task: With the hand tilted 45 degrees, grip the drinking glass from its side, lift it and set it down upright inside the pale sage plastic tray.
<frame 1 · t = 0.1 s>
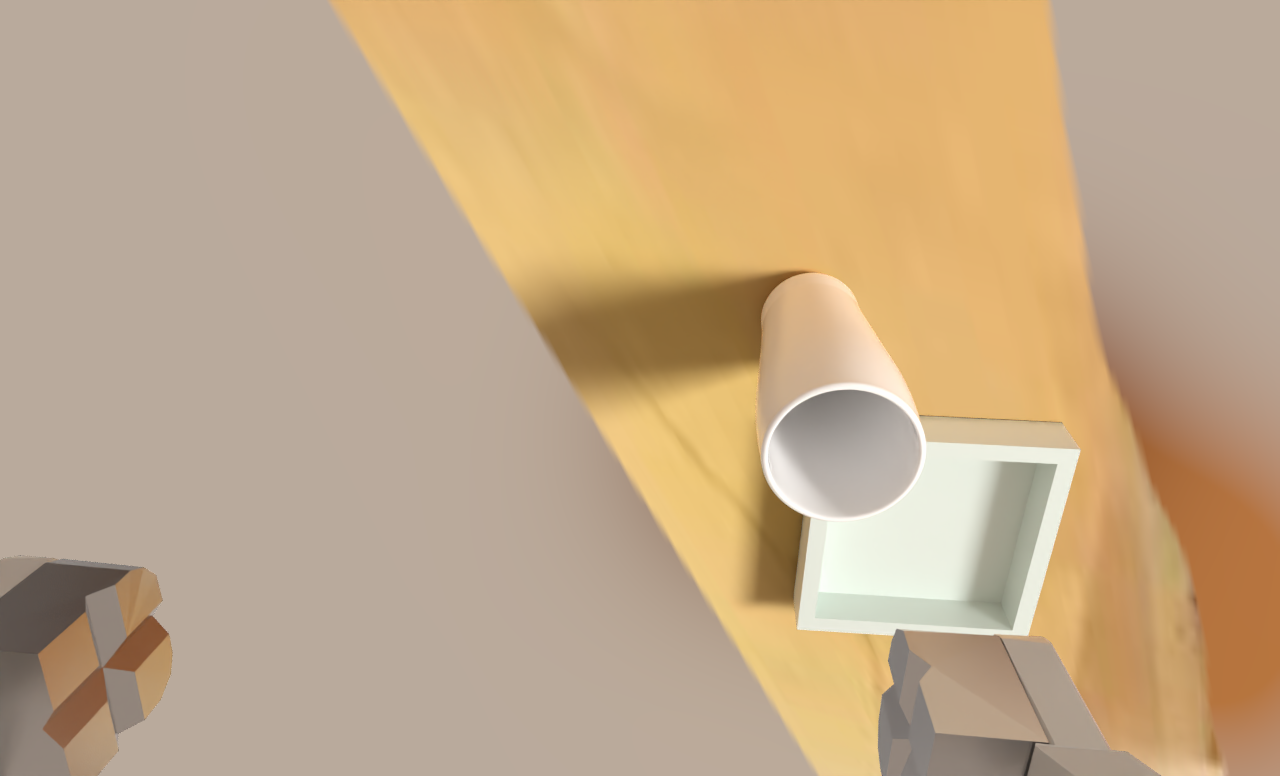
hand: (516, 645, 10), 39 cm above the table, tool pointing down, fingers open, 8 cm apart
drinking glass: (808, 313, 49), on the table
tray: (918, 515, 55), on the table
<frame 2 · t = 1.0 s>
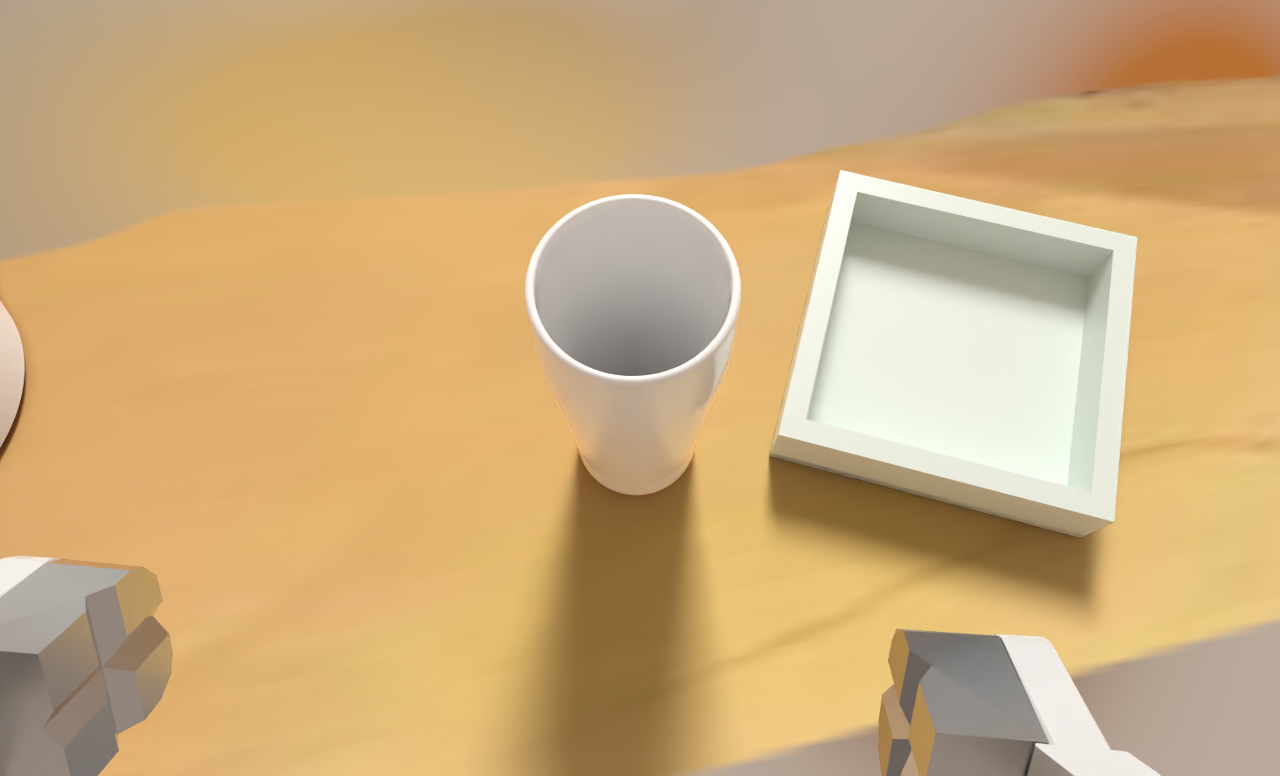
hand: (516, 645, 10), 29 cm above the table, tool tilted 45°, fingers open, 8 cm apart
drinking glass: (636, 444, 41), on the table
tray: (944, 358, 42), on the table
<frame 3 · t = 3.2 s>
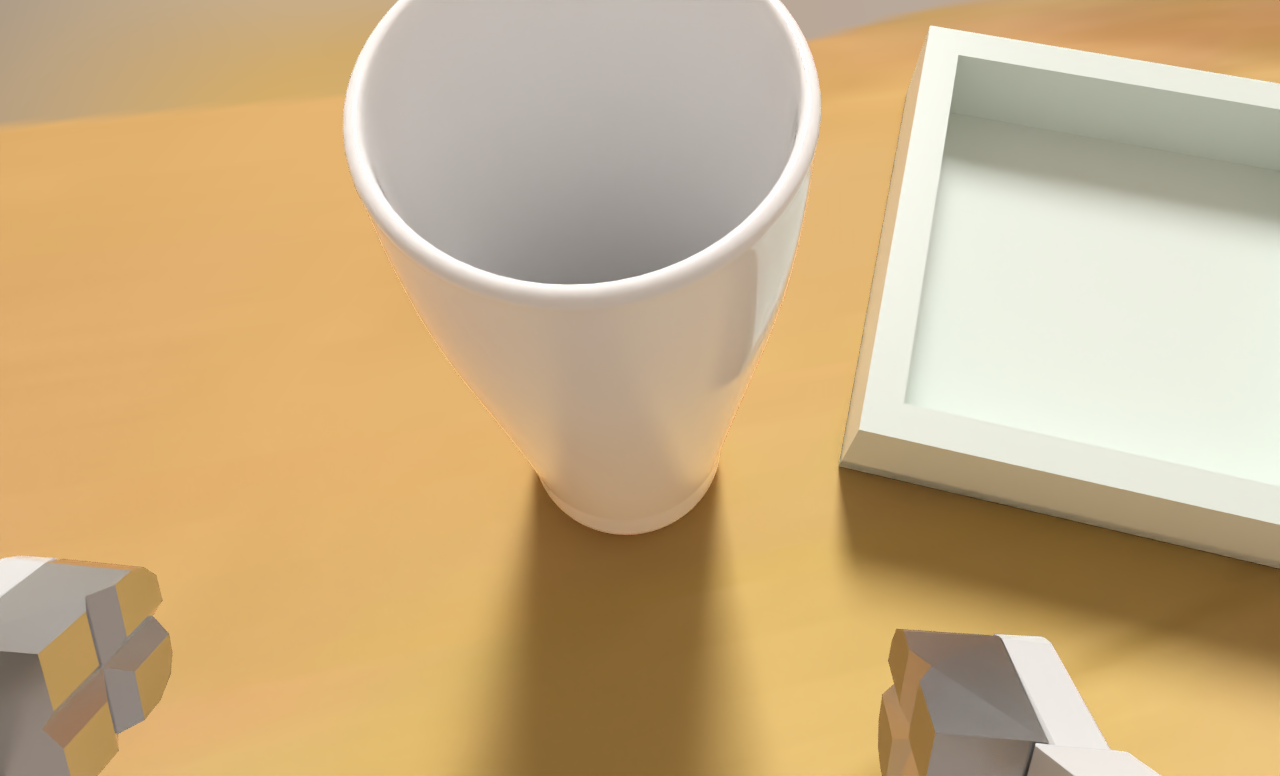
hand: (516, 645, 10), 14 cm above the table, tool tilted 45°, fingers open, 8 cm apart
drinking glass: (628, 452, 26), on the table
tray: (1104, 307, 27), on the table
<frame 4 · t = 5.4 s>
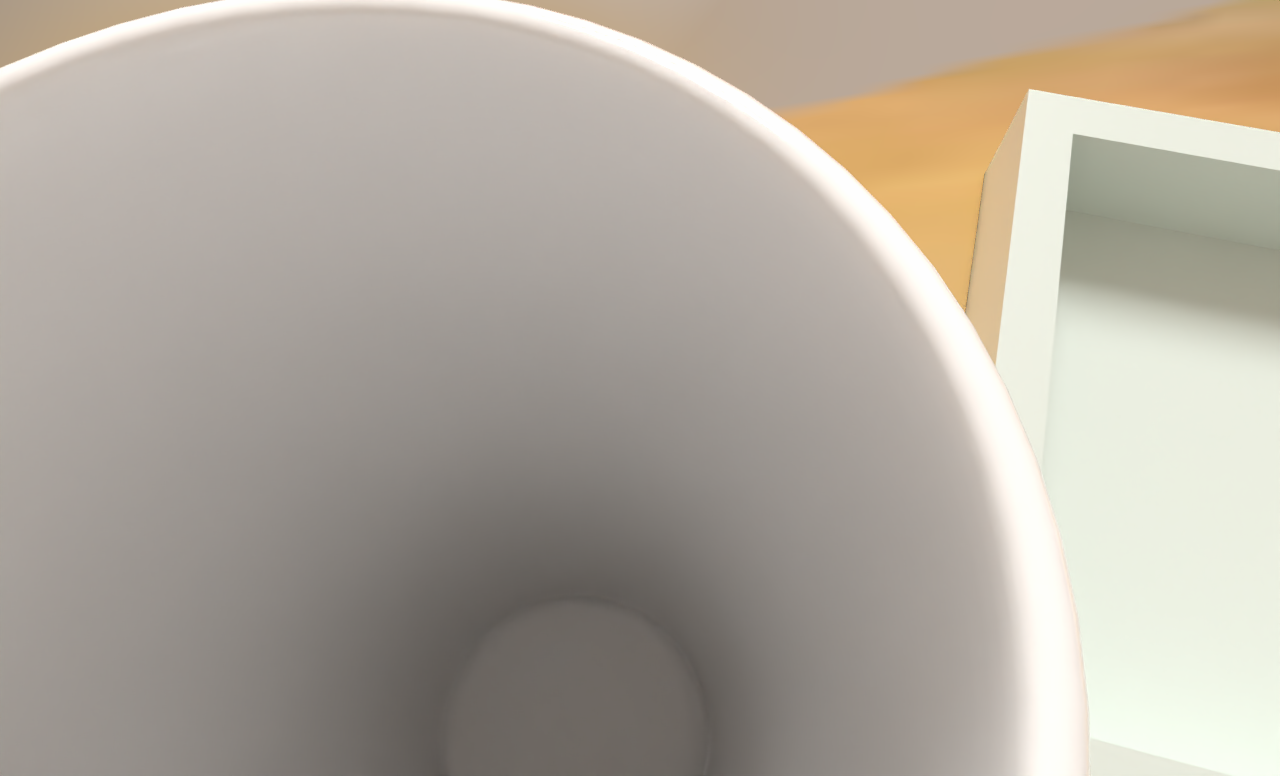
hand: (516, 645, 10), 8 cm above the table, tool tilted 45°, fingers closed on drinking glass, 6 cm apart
drinking glass: (584, 735, 17), on the table, touching gripper
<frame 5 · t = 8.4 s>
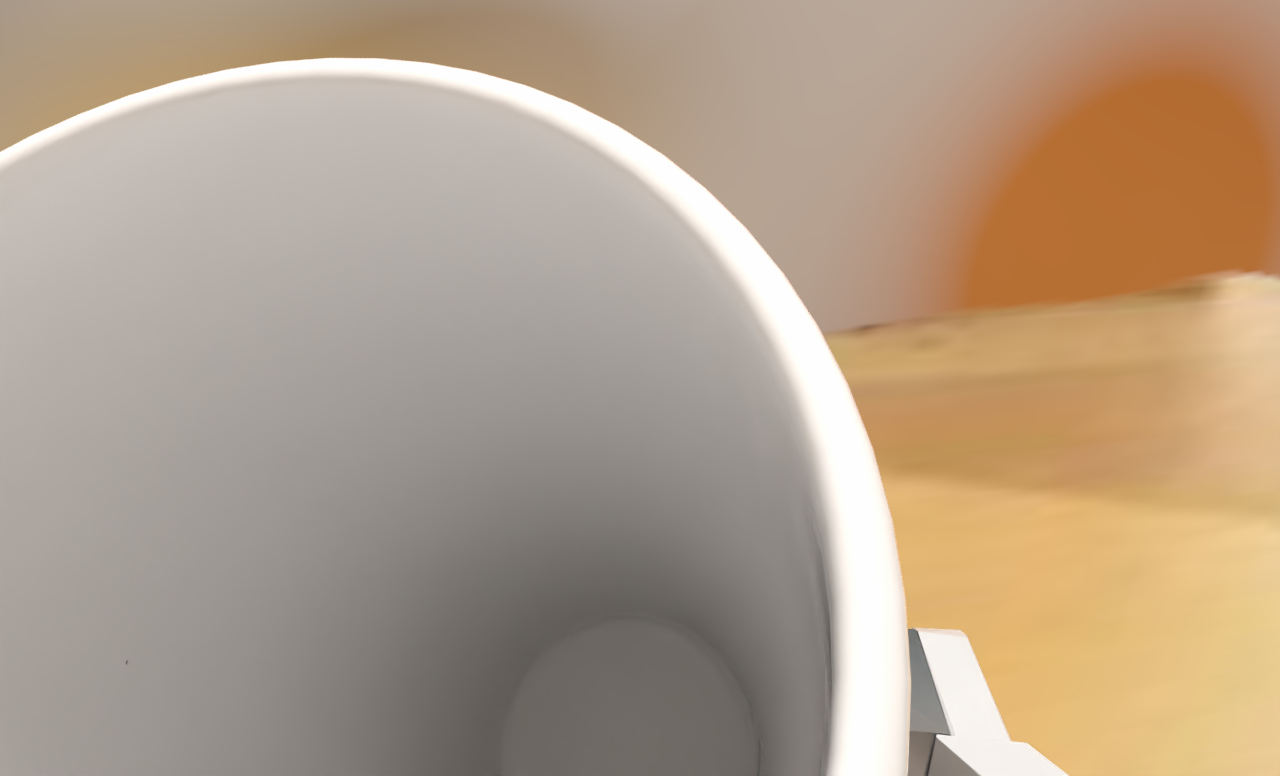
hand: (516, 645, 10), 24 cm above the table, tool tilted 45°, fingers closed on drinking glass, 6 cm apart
drinking glass: (641, 754, 18), point 15 cm above the table, touching gripper
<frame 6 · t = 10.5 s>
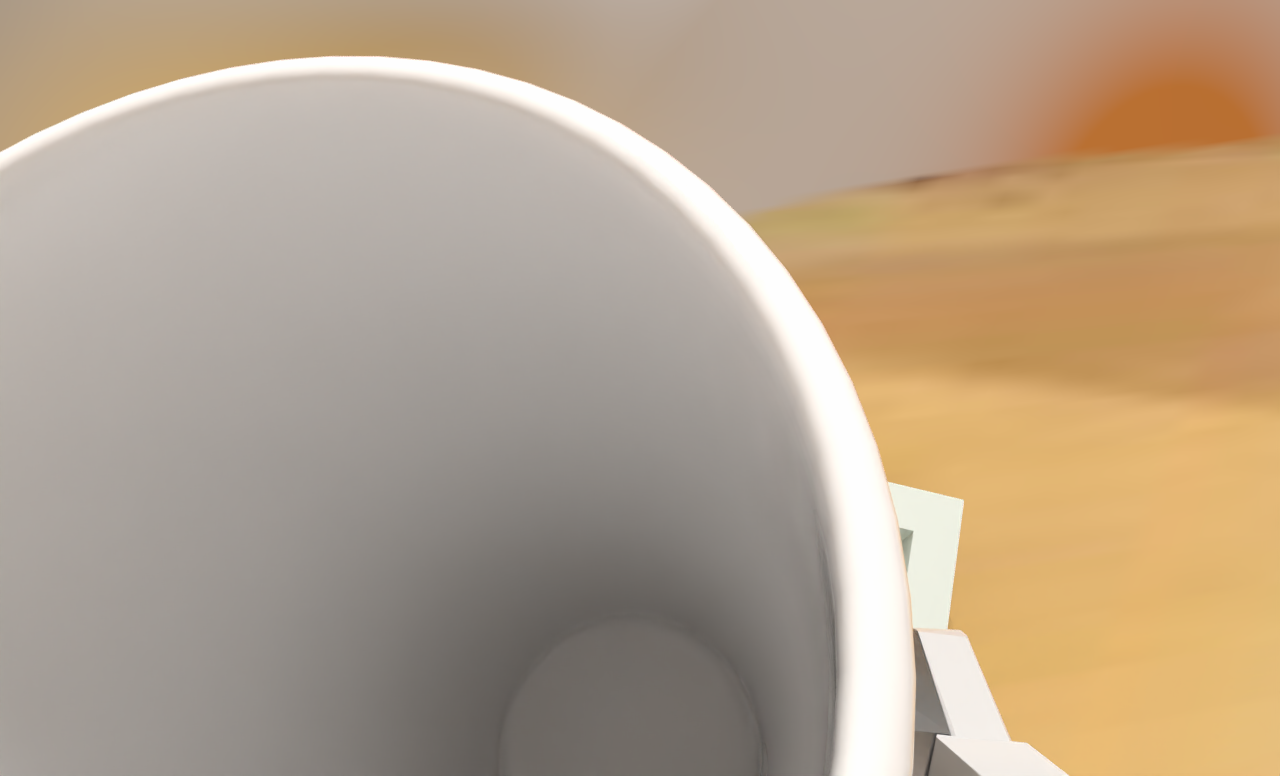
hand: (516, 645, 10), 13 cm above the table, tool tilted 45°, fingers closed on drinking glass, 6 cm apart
drinking glass: (643, 753, 18), point 4 cm above the table, touching gripper
tray: (594, 737, 21), on the table
when the fingers open (10 cm above the table, at t = 11.7 s): drinking glass moves 2 cm, resting on tray.
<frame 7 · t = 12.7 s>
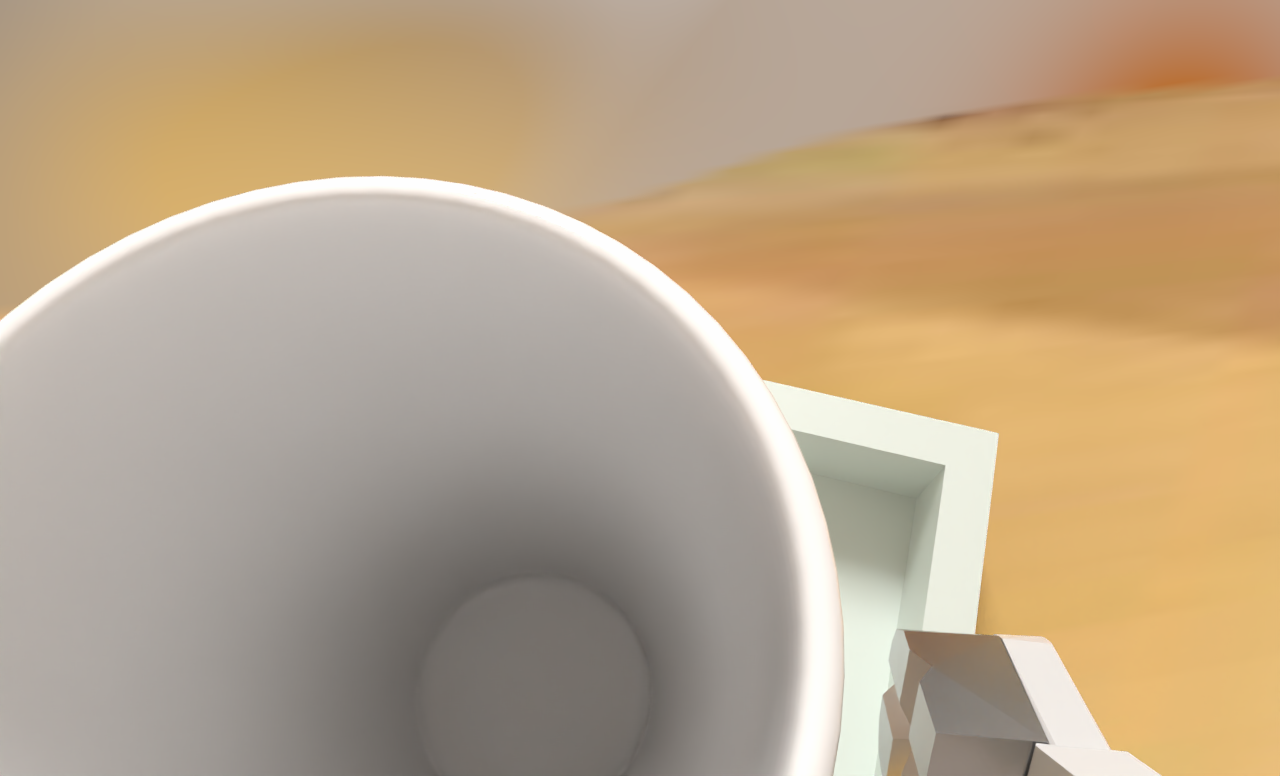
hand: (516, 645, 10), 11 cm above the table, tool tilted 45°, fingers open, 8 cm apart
drinking glass: (543, 693, 20), resting on tray, touching gripper
tray: (607, 688, 20), on the table
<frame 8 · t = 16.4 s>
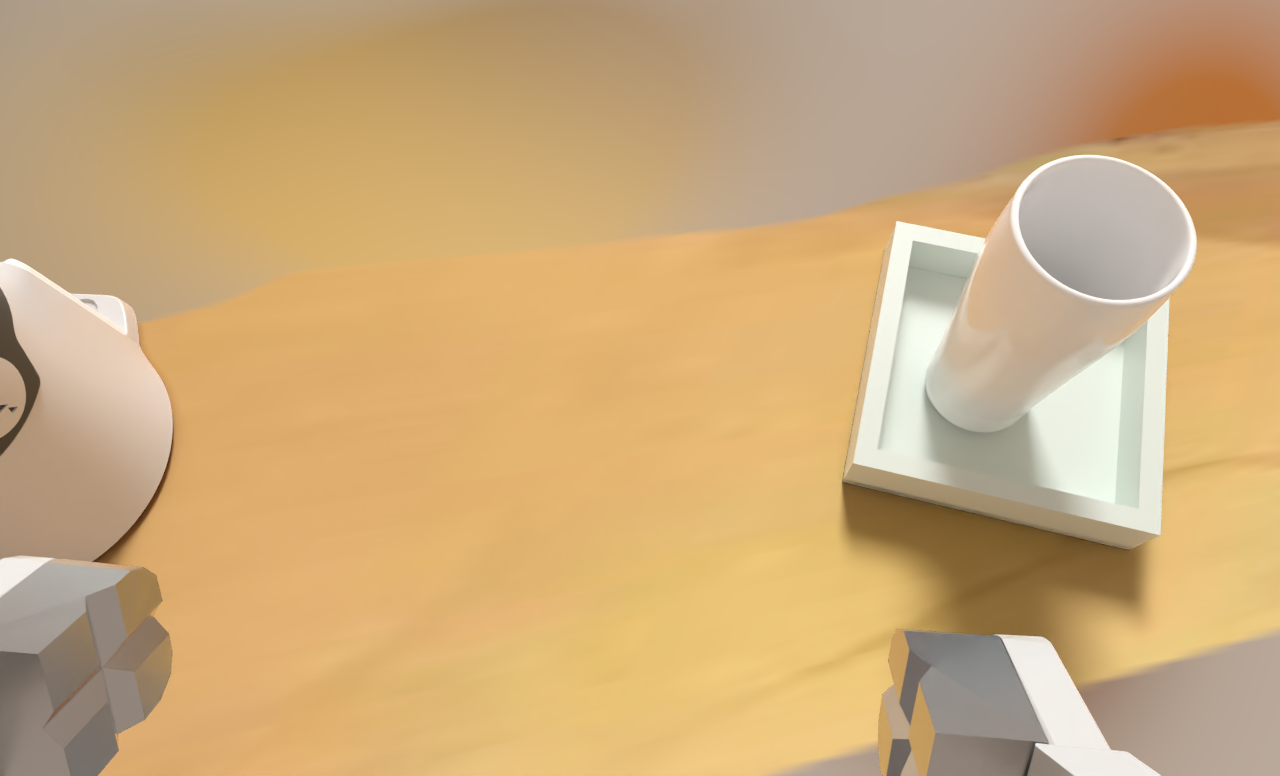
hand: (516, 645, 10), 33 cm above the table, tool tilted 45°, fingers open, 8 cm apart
drinking glass: (972, 390, 46), resting on tray
tray: (997, 389, 47), on the table
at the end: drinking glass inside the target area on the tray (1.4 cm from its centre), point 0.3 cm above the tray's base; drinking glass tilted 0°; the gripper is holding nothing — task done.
